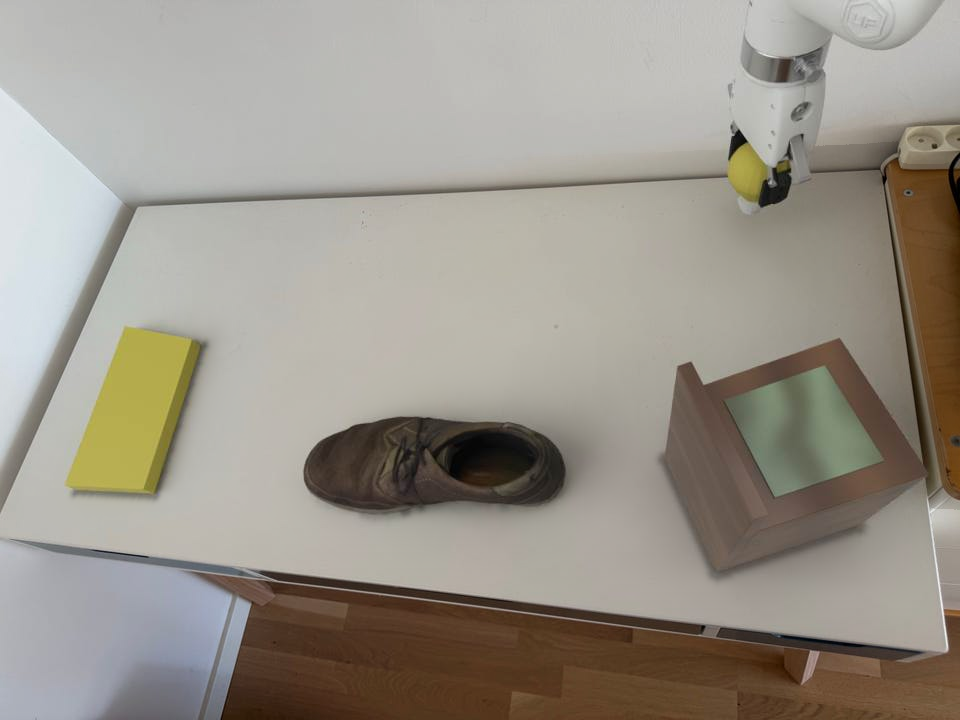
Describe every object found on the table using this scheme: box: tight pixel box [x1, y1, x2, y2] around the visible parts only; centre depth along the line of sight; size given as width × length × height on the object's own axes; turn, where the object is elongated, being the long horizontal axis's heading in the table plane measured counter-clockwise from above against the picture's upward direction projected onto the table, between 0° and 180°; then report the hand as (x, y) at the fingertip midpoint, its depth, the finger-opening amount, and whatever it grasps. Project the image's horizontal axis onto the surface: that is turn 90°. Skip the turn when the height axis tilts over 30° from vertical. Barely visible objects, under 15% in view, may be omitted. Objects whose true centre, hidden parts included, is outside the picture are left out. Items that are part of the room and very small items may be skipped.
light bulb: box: [726, 142, 787, 216], centre depth 76 cm, size 7×7×10 cm
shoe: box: [302, 415, 566, 515], centre depth 74 cm, size 12×31×10 cm, turn 80°
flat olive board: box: [64, 325, 202, 495], centre depth 90 cm, size 12×2×24 cm
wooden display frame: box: [664, 337, 930, 573], centre depth 59 cm, size 15×13×24 cm
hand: (756, 178), depth 76 cm, fingers closed on light bulb, 6 cm apart
